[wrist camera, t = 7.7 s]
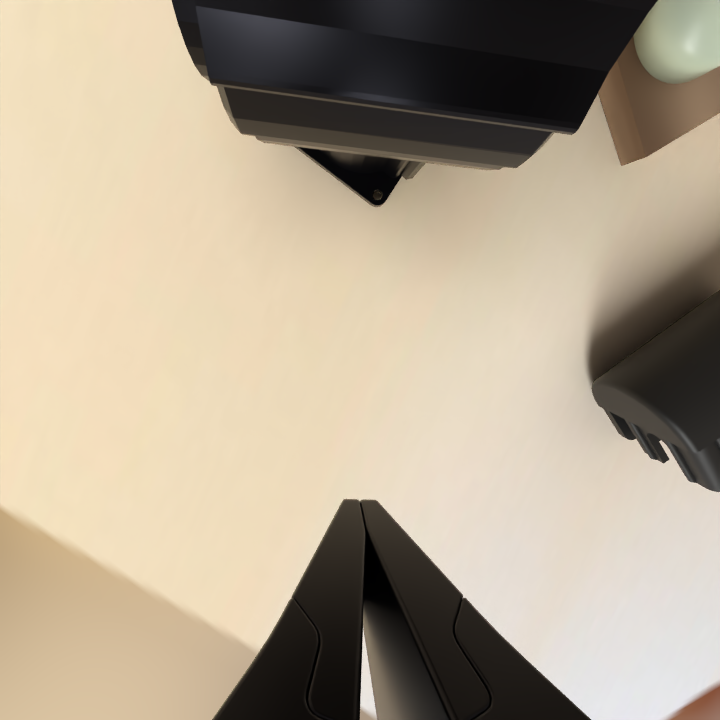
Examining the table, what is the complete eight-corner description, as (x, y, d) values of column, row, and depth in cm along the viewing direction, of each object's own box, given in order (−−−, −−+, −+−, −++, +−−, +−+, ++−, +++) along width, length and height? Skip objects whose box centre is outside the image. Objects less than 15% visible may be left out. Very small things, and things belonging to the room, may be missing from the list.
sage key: (651, 105, 16) (694, 84, 14) (618, -11, 15) (661, -52, 13) (749, 46, 16) (807, 15, 14) (725, -79, 15) (785, -132, 13)
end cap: (706, 262, 20) (880, 259, 14) (746, 351, 22) (918, 385, 16) (565, 365, 22) (667, 407, 15) (615, 442, 23) (726, 510, 17)
